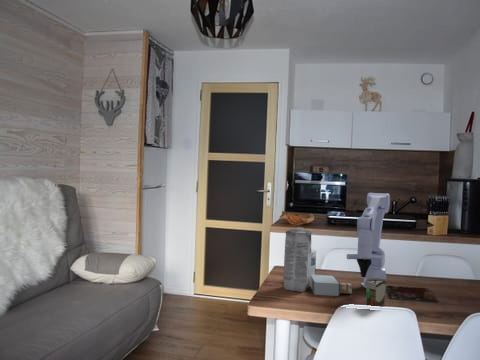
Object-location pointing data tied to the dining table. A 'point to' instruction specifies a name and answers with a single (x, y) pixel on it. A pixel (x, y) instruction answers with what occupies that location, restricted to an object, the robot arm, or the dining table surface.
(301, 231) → the juice carton
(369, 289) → the food container
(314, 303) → the dining table surface
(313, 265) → the syrup box
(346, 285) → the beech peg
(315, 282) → the block
